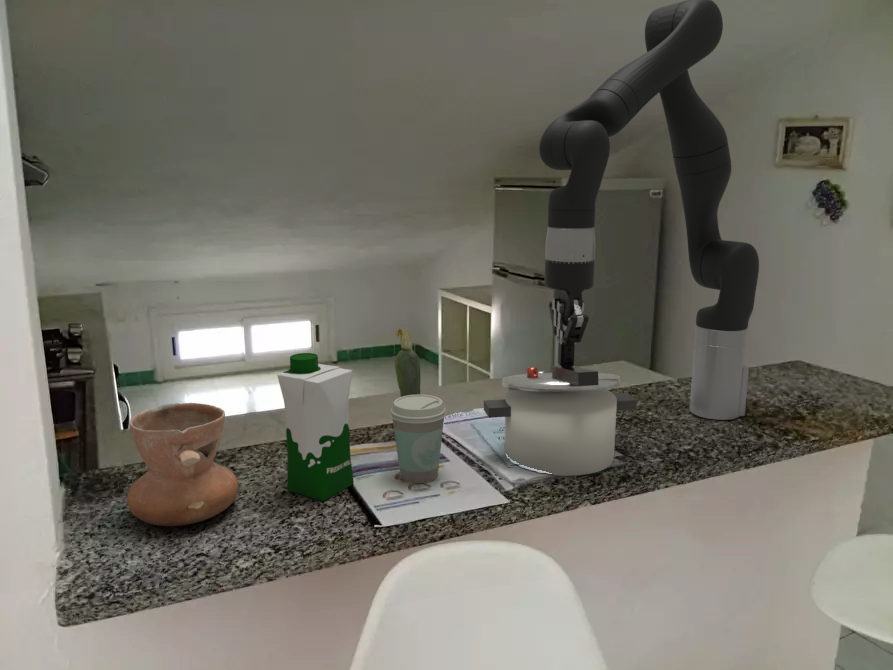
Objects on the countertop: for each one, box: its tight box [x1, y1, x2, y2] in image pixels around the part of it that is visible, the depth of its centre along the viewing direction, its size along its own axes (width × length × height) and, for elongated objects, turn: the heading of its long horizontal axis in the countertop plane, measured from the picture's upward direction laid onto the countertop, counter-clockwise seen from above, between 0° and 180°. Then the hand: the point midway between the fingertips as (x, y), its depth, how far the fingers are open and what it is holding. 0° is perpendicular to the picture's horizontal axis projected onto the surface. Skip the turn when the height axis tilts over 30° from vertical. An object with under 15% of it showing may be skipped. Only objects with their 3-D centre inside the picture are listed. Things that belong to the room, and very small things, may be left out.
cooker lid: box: [501, 365, 621, 392], centre depth 117 cm, size 19×25×4 cm
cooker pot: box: [483, 389, 638, 477], centre depth 119 cm, size 25×18×10 cm
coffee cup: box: [389, 394, 447, 484], centre depth 111 cm, size 8×8×12 cm
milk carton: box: [277, 352, 355, 502], centre depth 106 cm, size 9×9×20 cm
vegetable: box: [394, 328, 421, 398], centre depth 125 cm, size 4×4×20 cm
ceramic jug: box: [126, 402, 239, 527], centre depth 99 cm, size 18×14×14 cm
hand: (565, 365), depth 114 cm, fingers closed
